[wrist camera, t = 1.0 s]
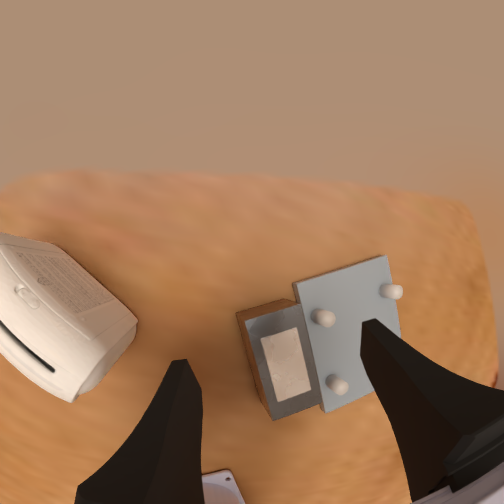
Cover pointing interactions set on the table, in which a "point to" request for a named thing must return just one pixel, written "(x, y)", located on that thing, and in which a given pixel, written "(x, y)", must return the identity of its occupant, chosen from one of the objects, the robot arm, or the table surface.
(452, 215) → the table surface
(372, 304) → the grey mounting plate
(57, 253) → the photo printer
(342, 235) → the table surface
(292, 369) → the block
